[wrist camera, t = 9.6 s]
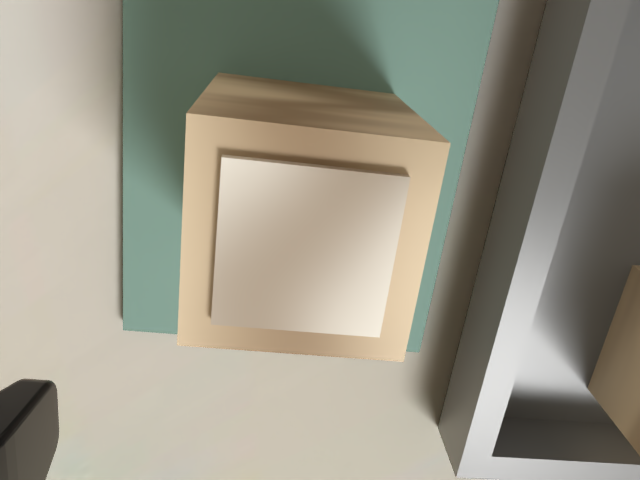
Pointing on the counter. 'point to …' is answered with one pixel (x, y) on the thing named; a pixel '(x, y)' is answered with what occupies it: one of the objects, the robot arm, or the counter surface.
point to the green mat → (290, 65)
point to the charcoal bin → (555, 261)
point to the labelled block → (305, 218)
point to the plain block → (622, 364)
